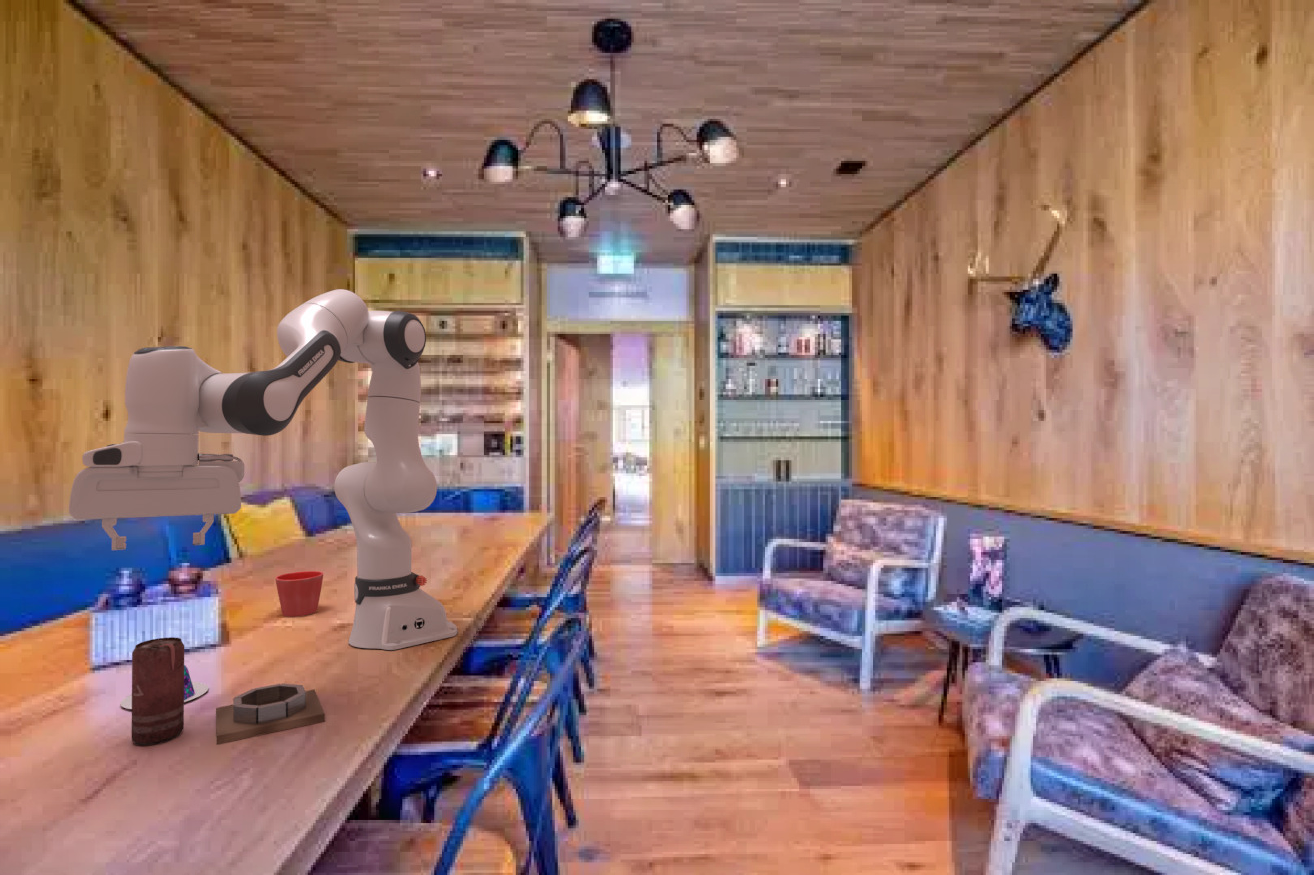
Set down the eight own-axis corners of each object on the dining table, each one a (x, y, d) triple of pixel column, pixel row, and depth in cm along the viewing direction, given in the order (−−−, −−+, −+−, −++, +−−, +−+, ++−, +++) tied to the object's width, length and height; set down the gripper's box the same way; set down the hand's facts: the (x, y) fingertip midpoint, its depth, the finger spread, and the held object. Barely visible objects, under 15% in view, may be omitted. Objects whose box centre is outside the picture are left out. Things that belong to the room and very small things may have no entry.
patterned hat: (114, 720, 103) (115, 686, 103) (125, 695, 113) (126, 664, 113) (207, 703, 110) (207, 672, 110) (209, 681, 120) (210, 652, 120)
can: (157, 748, 93) (157, 649, 93) (120, 744, 94) (121, 646, 94) (195, 730, 99) (195, 637, 99) (160, 726, 100) (161, 634, 100)
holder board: (314, 696, 112) (314, 689, 112) (324, 721, 102) (324, 713, 102) (215, 715, 104) (215, 707, 104) (216, 744, 94) (216, 736, 94)
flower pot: (264, 618, 161) (264, 578, 161) (296, 607, 172) (296, 570, 172) (303, 620, 160) (303, 580, 160) (332, 608, 170) (332, 571, 170)
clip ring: (300, 694, 110) (300, 680, 110) (307, 714, 102) (307, 698, 102) (232, 707, 104) (232, 692, 104) (234, 729, 96) (234, 712, 96)
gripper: (244, 453, 106) (242, 539, 105) (76, 453, 94) (73, 549, 94) (245, 454, 100) (243, 544, 100) (67, 453, 89) (65, 555, 89)
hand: (159, 547), depth 97 cm, fingers open, 8 cm apart
